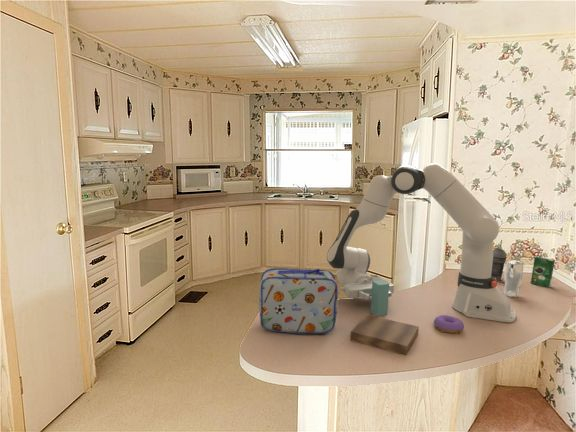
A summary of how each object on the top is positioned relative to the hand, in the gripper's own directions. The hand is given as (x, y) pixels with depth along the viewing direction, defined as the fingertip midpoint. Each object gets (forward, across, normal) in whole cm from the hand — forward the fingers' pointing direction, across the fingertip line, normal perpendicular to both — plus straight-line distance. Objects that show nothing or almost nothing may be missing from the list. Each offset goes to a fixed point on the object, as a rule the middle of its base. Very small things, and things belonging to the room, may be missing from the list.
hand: (379, 296), depth 153 cm
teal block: (0, 0, +6) cm, 7 cm away
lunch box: (+4, -35, +7) cm, 36 cm away
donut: (+20, +16, +7) cm, 26 cm away
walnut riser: (+19, -10, +6) cm, 22 cm away
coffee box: (-6, +93, +7) cm, 93 cm away
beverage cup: (-18, +78, +7) cm, 81 cm away
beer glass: (0, +67, +7) cm, 67 cm away
